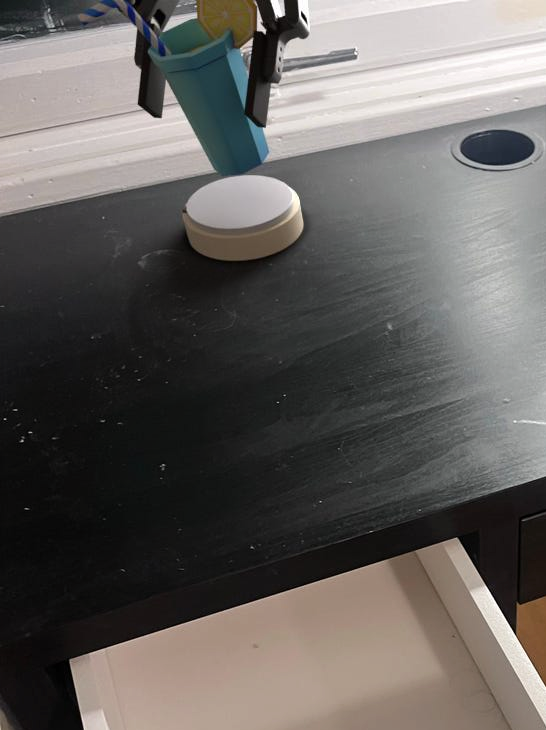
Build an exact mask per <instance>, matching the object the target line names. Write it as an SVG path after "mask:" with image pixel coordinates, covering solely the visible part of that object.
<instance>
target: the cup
mask: <svg viewBox="0 0 546 730" xmlns="http://www.w3.org/2000/svg"><path fill="white" fill-rule="evenodd" d="M117 8H118V9H120V10H122V11H123V12H124V13H125V14H126V15H127V16H128V18H129V19H130V20H131V21H132V22H133V24H134V25H135V26H134V25H133V24H132V25H133V26H134V27H136V29H137V28H138V29H139V31H140V32H141V33H142V34H143V35H144V36H145V38H146V39H147V40H148V41H149V42H150V43H151V45H152V46H151V47H150V48H149V50H148V54H149V55H150V57H151V59H152V60H153V62H154V64H155V65H157V66H158V67H159V68H160V69H161V71H162V73H163V75H164V76H165V78H166V83H167V84H168V86H169V88H170V89H171V91H172V94H173V95H174V97H175V99H176V101H177V102H178V103H177V104H179V106H180V109H181V110H182V112H183V114H184V116H185V118H186V119H187V122H188V123H189V125H190V127H191V129H192V131H193V132H194V134H195V135H194V136H196V138H197V140H198V142H199V144H200V146H201V148H202V150H203V151H204V154H205V155H206V157H207V159H208V161H209V162H210V165H211V166H212V169H213V170H214V171H215V172H217V173H218V174H219V176H221V177H232V176H241V175H244V174H246V173H248V172H251V170H253V169H254V170H255V168H257V167H259V166H262V165H263V164H264V162H265V160H266V159H267V157H268V155H269V153H270V149H269V146H268V141H267V138H266V135H265V131H264V128H261V127H257V126H256V125H255V124H254V123H253V122H252V121H251V120H250V119H249V118H248V117H247V116H246V115H245V114H244V111H245V102H246V94H247V85H248V77H249V75H248V72H247V69H246V65H245V62H244V59H243V55H242V51H241V48H243V46H245V45H246V44H247V43H248V42H250V41H251V40H253V34H254V31H258V6H257V3H256V2H255V1H254V0H196V17H194V18H190V19H187V20H186V21H183V22H182V23H180V24H178V25H175V26H174V27H171V28H170V29H167V30H165V31H163V33H161V35H160V36H159V37H157V36H156V34H155V33H154V32H153V31H152V30H151V28H150V27H149V26H148V25H147V24H146V23H145V21H144V20H143V19H142V18H141V17H140V15H139V14H138V13H137V12H136V11H135V9H134V8H133V7H132V6H131V5H130V4H129V3H128V2H126V1H124V0H101V1H99V2H98V3H96V4H94V5H92V6H91V7H89V8H87V9H86V10H84V11H83V12H81V13H79V14H78V15H77V18H78V20H79V22H80V23H81V24H82V25H83V26H87V25H89V24H90V23H92V22H94V21H96V20H97V19H99V18H101V17H103V16H104V15H106V14H108V13H110V12H111V11H113V10H115V9H117ZM118 9H117V10H118Z"/></svg>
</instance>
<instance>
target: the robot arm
mask: <svg viewBox="0 0 546 730" xmlns="http://www.w3.org/2000/svg"><path fill="white" fill-rule="evenodd" d="M124 1H126V2H128V3H129V4H130V5H131V6H132V7H133V8H134V9H135V11H136V12H137V13H138V14H139V15H140V17H141V18H142V19H143V20H144V21H145V23H146V24H147V25H148V26H149V27H150V28H151V30H152V31H153V32H154V33H155V34H156V36H157V37H159V36H160V35H161V33H163V32H164V30H165V28H166V26H167V25H168V23H169V21H170V19H171V17H172V16H173V14H174V12H175V10H176V9H177V7H178V5H179V3H180V2H181V0H124ZM255 4H256V6H257V10H258V12H259V15H260V18H261V21H260V25H261V26H262V27H263V29H264V30H265V32H264V31H262V30H257V31H254V34H253V38H252V42H251V43H252V44H251V51H250V60H249V67H248V68H249V69H248V85H247V94H246V102H245V111H244V114H245V115H246V116H247V117H248V118H249V119H250V120H251V121H252V122H253V123H254V124H255V125H256V126H257V127H261V128H263V129H266V128H267V121H268V114H269V105H270V97H271V88H272V84H276V85H279V84H280V81H281V80H282V76H283V68H284V60H285V54H286V53H285V52H286V46H287V45H288V43H289V42H290V41H292V40H295V39H300V40H305V39H307V38H308V37H309V36H310V34H311V33H310V32H311V28H310V26H311V25H310V15H309V4H308V0H283V7H284V14H282V11H281V7H280V5H279V1H278V0H255ZM116 9H117V11H118V12H119V13H120V14H121V15H122V16H123V17H124V18H125V19H127V20H128V21H129V22H130V23H131V24H132V25H133V26H134V27H136V26H135V25H134V24H133V22H132V21H131V20H130V19H129V18H128V16H127V15H126V14H125V13H124V12H123V11H122V10H120V9H118V8H116ZM151 46H152V45H151V43H150V42H149V41H148V40H147V39H146V38H145V36H144V35H143V34H142V33H141V32H140V31H139V29H138V28H137V27H136V37H135V46H134V56H133V60H134V64H135V66H136V67H137V68H138V69H140V75H139V85H138V95H137V96H138V97H137V105H138V106H139V107H140V108H141V109H142V110H144V111H145V112H146V113H147V114H149V115H150V116H151V117H153V118H154V119H163V113H164V111H163V110H164V104H165V103H164V101H165V92H166V84H167V80H166V78H165V76H164V75H163V73H162V71H161V69H160V68H159V67H158V66H157V65H155V64H154V62H153V60H152V59H151V57H150V55H149V54H148V50H149V48H150V47H151Z"/></svg>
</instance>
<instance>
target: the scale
mask: <svg viewBox="0 0 546 730" xmlns="http://www.w3.org/2000/svg"><path fill="white" fill-rule="evenodd" d="M181 211H182V221H183V223H184V228H185V231H186V235H187V238H188V241H189V244H190V246H191V248H193V249H194V250H195V251H196V252H197V253H199V254H201V255H203V256H205V257H208V258H210V259H215V260H220V261H229V262H231V261H232V262H234V261H235V262H236V261H237V262H238V261H248V260H249V261H250V260H256V259H261V258H266V257H267V256H268V257H269V256H270V255H274V254H277V253H279V252H281V251H283V250H285V249H286V248H288V247H289V246H291V245H292V244H294V242H296V241H297V240H298V239H299V237H300V236H301V234H302V232H303V230H304V218H303V213H302V208H301V203H300V198H299V195H298V194H297V192H296V191H295V190H294V189H293V188H291V187H289V185H288V184H286V183H285V182H283V181H281V180H279V179H277V178H274V177H271V176H265V175H256V174H255V175H253V174H252V175H249V174H246V175H234V176H228V177H225V178H221V179H218V180H215V181H212V182H210V183H208V184H206V185H204V186H202V187H201V188H199V189H197V190H195V192H194V193H192V195H190V197H189V199H188V200H187V202H186V204H184V207H183V209H182V210H181Z"/></svg>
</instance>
